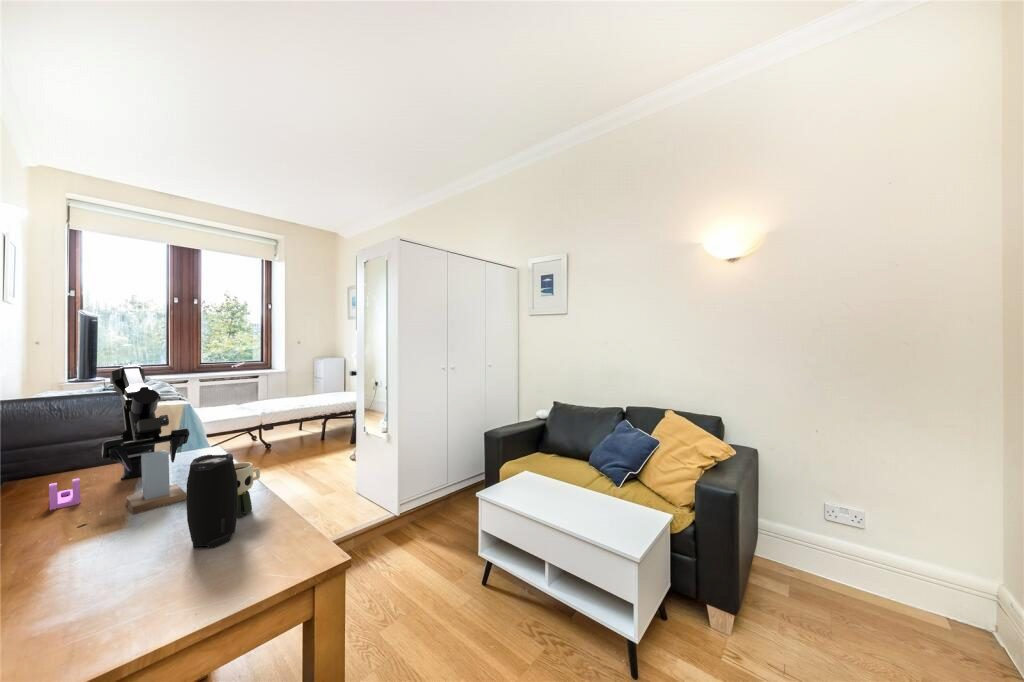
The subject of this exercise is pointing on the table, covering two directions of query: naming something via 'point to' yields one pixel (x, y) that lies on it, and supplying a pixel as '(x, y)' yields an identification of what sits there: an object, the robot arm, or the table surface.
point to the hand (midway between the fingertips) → (152, 466)
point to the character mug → (245, 485)
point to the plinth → (154, 500)
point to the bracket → (60, 501)
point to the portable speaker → (212, 500)
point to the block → (155, 474)
